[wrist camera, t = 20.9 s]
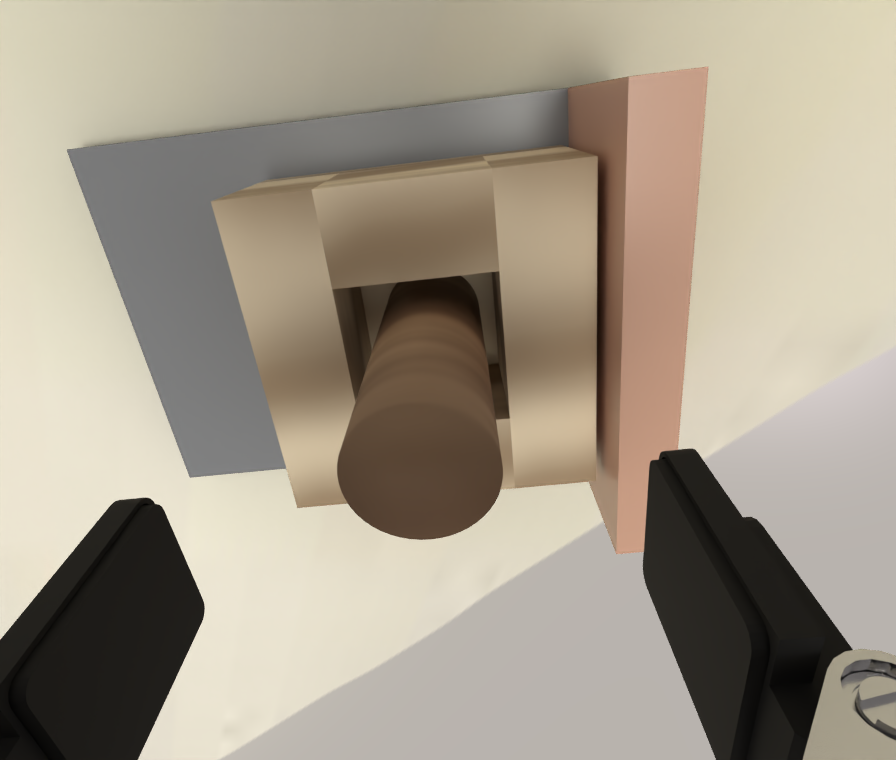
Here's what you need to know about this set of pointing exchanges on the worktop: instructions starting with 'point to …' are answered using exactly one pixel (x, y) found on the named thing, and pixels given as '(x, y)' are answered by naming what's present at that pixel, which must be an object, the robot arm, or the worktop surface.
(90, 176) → the rail board
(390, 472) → the dowel
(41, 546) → the worktop surface
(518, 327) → the socket block
